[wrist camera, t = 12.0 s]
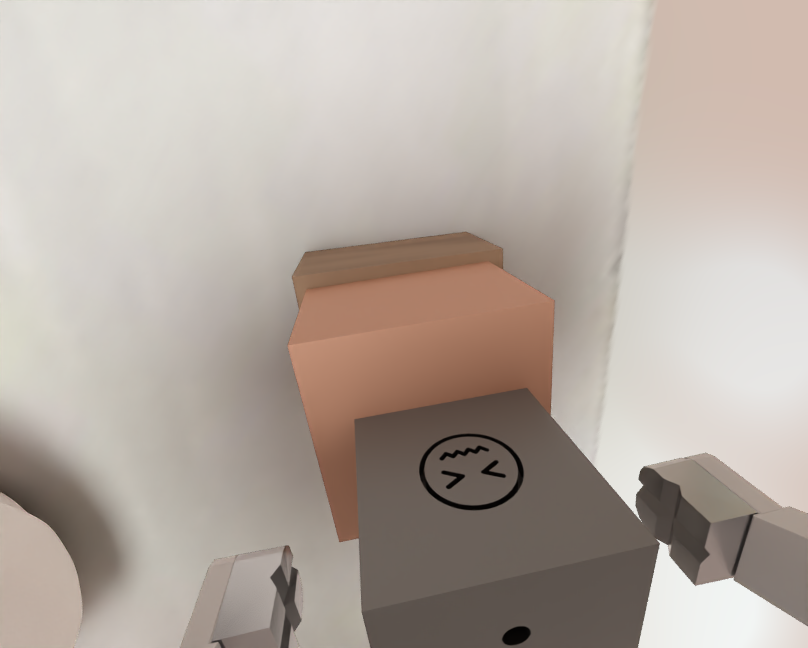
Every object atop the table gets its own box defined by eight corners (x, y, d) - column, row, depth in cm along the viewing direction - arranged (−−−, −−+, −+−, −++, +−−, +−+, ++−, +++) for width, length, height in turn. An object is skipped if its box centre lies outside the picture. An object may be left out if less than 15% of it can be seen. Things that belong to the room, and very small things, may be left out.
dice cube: (378, 544, 12) (399, 764, 8) (354, 418, 10) (361, 611, 6) (524, 513, 13) (626, 703, 8) (526, 387, 11) (659, 543, 6)
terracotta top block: (493, 410, 17) (547, 496, 13) (340, 440, 17) (339, 542, 12) (488, 261, 15) (554, 300, 10) (306, 289, 14) (287, 345, 9)
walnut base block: (470, 369, 22) (503, 420, 17) (333, 391, 21) (330, 451, 17) (464, 231, 19) (502, 248, 14) (305, 251, 18) (291, 276, 14)
